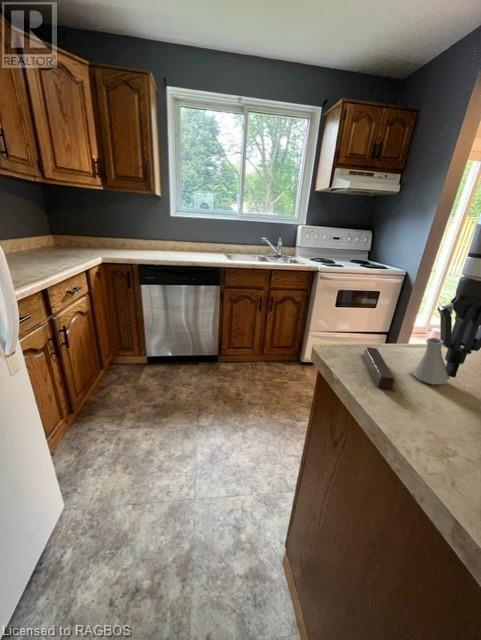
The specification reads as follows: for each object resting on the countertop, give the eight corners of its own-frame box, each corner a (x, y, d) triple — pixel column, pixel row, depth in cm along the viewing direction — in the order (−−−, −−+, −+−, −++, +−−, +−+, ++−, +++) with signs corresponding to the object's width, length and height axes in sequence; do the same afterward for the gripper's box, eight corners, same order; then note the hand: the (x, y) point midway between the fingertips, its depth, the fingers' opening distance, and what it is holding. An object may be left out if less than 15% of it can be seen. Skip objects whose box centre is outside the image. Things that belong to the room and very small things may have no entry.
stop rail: (374, 357, 77) (376, 348, 76) (391, 389, 63) (395, 378, 61) (363, 356, 78) (365, 346, 77) (377, 387, 63) (380, 376, 62)
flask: (406, 374, 70) (409, 339, 66) (427, 366, 72) (431, 332, 68) (433, 388, 63) (438, 350, 60) (456, 379, 65) (462, 342, 62)
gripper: (459, 279, 56) (427, 378, 64) (530, 284, 53) (489, 386, 62) (441, 273, 63) (415, 363, 71) (504, 277, 60) (469, 370, 68)
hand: (449, 374), depth 66 cm, fingers closed
